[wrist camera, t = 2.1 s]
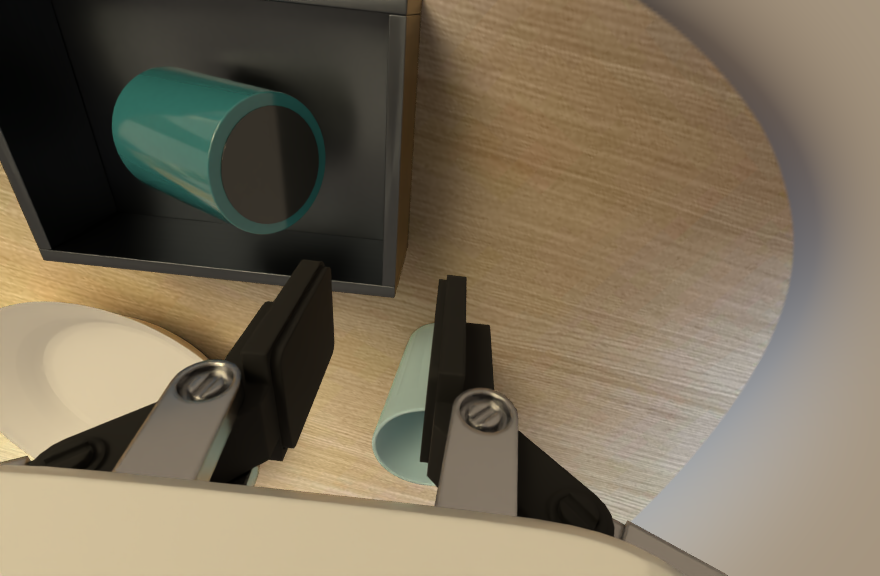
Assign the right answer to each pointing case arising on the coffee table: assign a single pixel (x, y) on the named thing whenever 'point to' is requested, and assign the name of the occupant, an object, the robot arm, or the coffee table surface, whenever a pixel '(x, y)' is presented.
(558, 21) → the coffee table surface
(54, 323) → the white plate
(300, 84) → the dark grey shallow box
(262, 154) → the pot
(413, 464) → the cup
